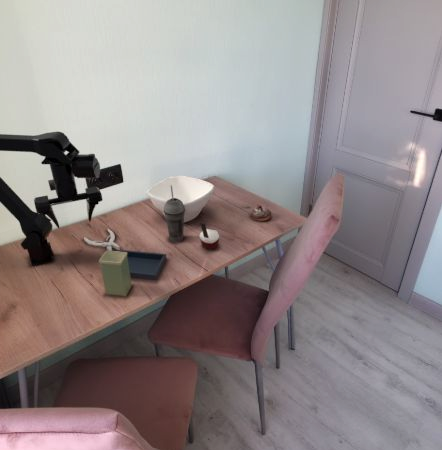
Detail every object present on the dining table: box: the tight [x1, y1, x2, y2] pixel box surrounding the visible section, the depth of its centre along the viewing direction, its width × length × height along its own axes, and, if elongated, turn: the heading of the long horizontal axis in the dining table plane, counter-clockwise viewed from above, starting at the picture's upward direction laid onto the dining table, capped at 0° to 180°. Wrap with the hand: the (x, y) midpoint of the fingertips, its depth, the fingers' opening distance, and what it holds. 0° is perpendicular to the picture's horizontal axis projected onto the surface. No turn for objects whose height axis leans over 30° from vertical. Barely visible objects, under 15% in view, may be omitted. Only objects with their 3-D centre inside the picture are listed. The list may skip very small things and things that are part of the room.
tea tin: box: [98, 250, 133, 297], centre depth 114 cm, size 5×6×12 cm
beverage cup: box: [163, 185, 185, 243], centre depth 136 cm, size 7×7×20 cm
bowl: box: [146, 175, 215, 223], centre depth 153 cm, size 22×22×12 cm
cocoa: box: [199, 222, 220, 250], centre depth 133 cm, size 10×6×12 cm, turn 135°
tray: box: [118, 249, 167, 281], centre depth 126 cm, size 11×15×2 cm
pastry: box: [250, 204, 272, 222], centre depth 154 cm, size 8×8×5 cm
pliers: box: [83, 228, 121, 251], centre depth 139 cm, size 10×2×15 cm
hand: (74, 224), depth 124 cm, fingers open, 9 cm apart
